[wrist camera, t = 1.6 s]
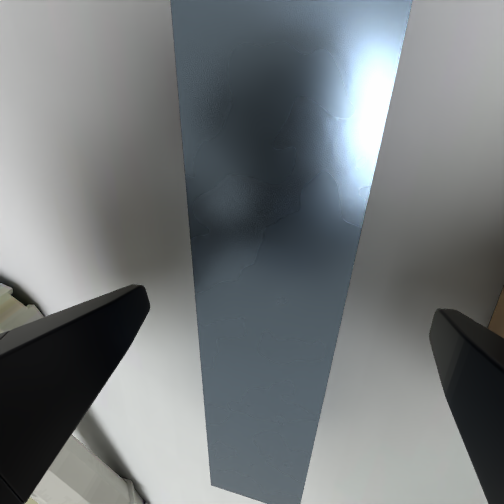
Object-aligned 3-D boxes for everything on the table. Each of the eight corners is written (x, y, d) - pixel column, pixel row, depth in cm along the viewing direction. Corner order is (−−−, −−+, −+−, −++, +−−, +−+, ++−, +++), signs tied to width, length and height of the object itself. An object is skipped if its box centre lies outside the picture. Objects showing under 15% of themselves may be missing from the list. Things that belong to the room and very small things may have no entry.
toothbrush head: (86, 550, 23) (-250, 380, 10) (131, 459, 28) (-52, 274, 16) (136, 567, 21) (-184, 394, 9) (173, 468, 27) (10, 271, 14)
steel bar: (304, 422, 15) (298, 513, 11) (236, 404, 16) (211, 485, 12) (402, -110, 6) (508, -428, 3) (235, -87, 7) (144, -304, 3)
